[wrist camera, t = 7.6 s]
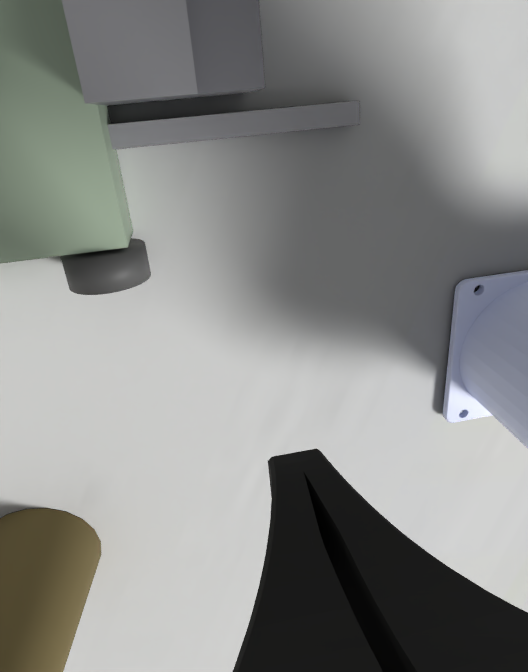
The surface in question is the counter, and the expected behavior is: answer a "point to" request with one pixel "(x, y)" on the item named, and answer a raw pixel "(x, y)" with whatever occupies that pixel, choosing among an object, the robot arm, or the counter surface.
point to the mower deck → (89, 153)
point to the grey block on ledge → (165, 48)
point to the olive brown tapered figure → (43, 586)
